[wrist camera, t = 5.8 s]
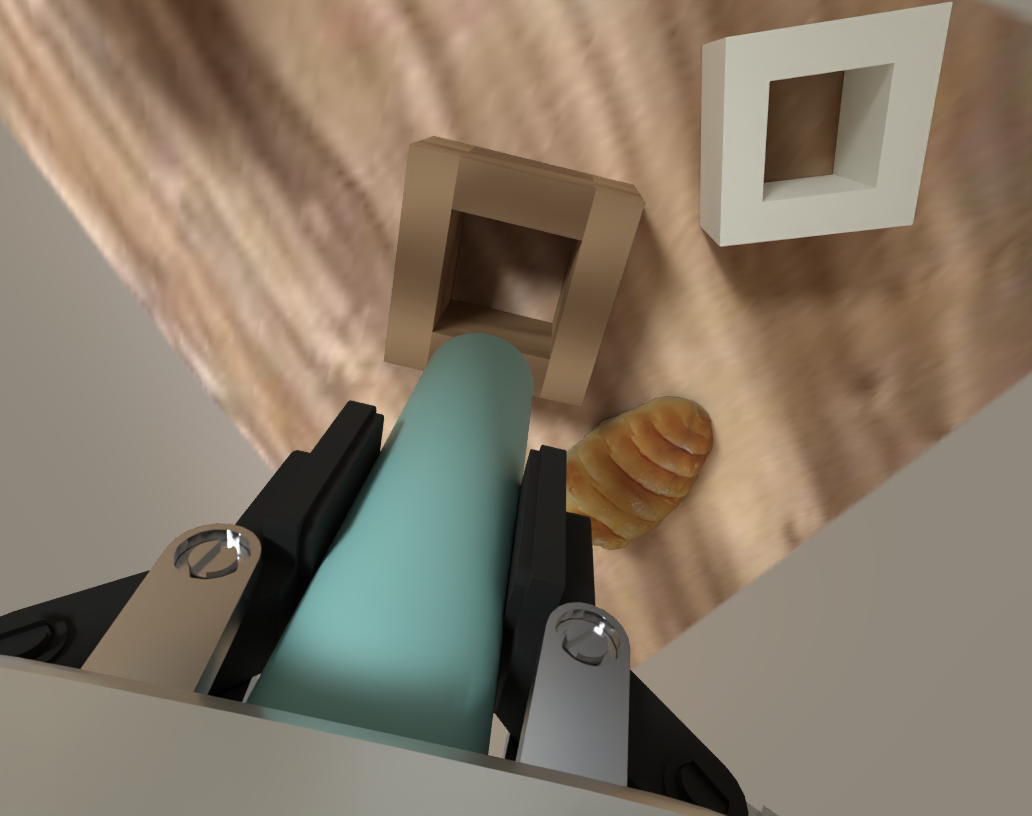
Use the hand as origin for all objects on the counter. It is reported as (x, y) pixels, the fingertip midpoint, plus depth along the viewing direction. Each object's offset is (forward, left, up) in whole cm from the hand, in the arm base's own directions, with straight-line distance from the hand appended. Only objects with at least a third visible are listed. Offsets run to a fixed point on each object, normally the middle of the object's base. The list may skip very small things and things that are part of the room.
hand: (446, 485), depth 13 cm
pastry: (+9, +8, -18) cm, 22 cm away
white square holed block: (-8, +10, -18) cm, 22 cm away
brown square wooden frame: (0, 0, -18) cm, 18 cm away
